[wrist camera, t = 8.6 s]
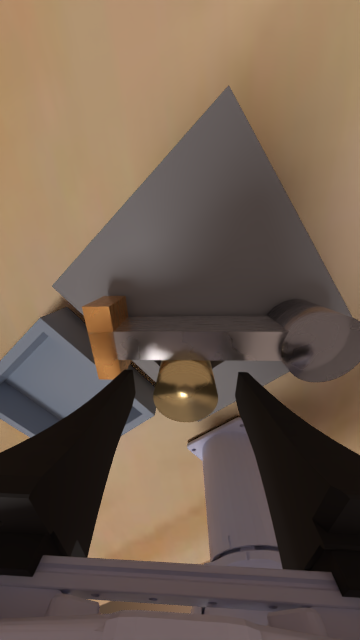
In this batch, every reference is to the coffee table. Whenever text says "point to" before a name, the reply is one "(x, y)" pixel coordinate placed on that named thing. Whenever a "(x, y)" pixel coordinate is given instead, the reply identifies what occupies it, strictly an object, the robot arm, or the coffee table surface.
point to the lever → (226, 338)
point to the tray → (58, 376)
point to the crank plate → (206, 242)
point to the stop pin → (185, 390)
